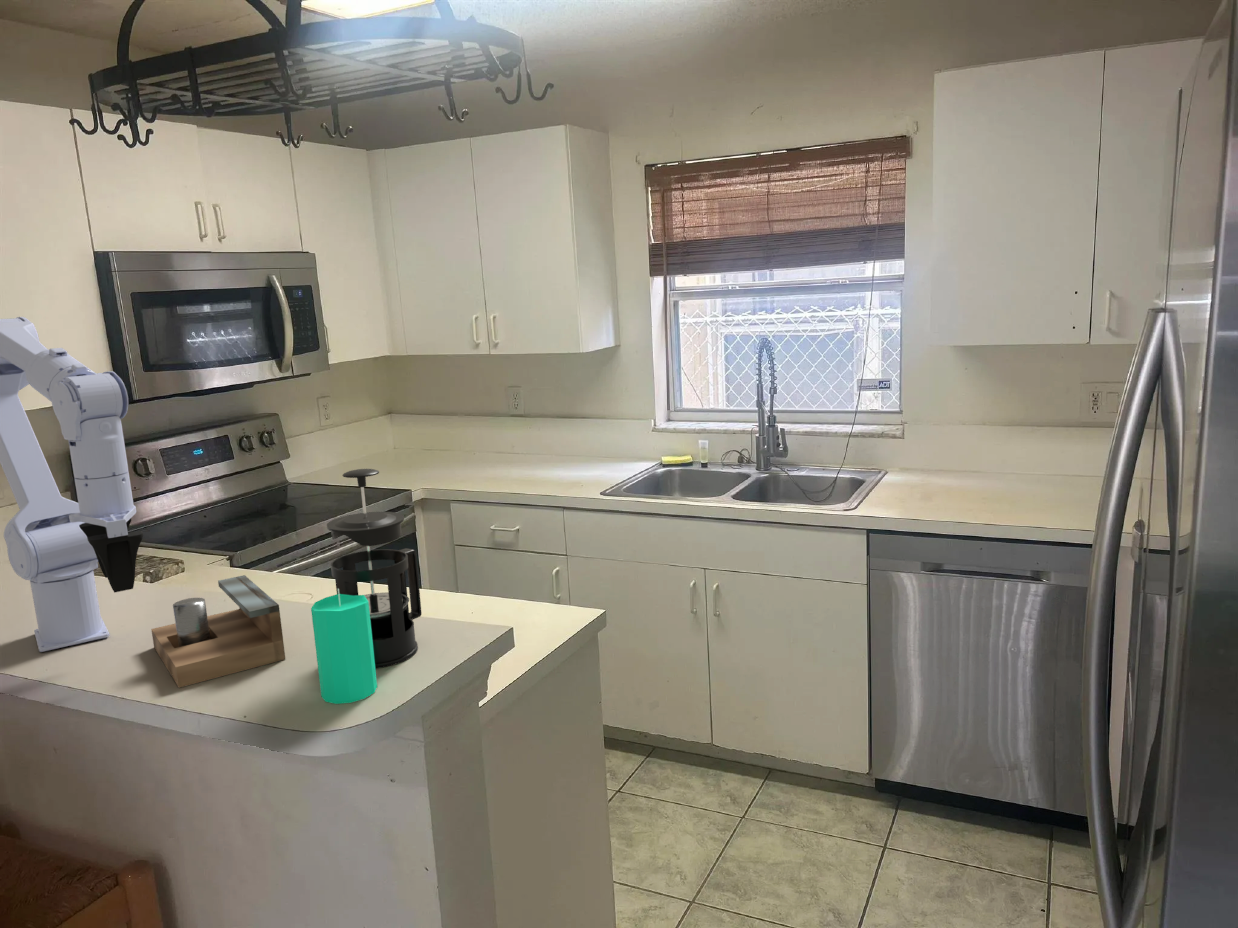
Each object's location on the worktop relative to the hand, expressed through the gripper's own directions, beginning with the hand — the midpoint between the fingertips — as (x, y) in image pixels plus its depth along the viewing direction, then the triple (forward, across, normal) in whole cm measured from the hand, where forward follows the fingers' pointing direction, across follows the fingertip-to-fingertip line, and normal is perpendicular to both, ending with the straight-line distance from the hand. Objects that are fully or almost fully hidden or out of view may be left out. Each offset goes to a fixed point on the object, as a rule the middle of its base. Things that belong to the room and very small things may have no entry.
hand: (118, 582), depth 110 cm
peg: (+10, +5, +7) cm, 13 cm away
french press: (+10, +20, +25) cm, 34 cm away
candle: (+10, +28, +18) cm, 35 cm away
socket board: (+10, +6, +9) cm, 15 cm away
